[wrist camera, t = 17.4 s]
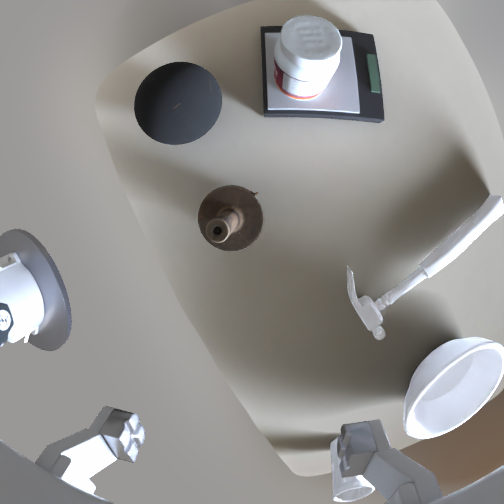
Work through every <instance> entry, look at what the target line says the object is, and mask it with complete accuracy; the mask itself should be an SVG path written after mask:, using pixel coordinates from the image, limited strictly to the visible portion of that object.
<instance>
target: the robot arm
mask: <svg viewBox="0 0 504 504" xmlns="http://www.w3.org/2000/svg"><path fill="white" fill-rule="evenodd" d="M43 319H44V303H43V299H42V295H41V292H40V290H39V287H38V285H37V283H36V281H35V279H34V277H33V276H32V274H31V273H30V272H29V270H28V269H27V268H26V267H25V266H24V265H23V264H22V262H21V260H20V259H19V257H18V255H17V253H16V252H15V251H13V252H11V253H9V254H6V255H4V256H2V257H0V347H1V346H2V345H3V344H4V343H5V342H7V341H9V342H11V343H14V342H16V341H17V340H19V339H20V338H22V337H24V336H25V335H26V338H25V341H24V342H27V340H28V337H29V334H30V333H31V334H33V335H36V334H37V333H38V330H39V325H40V324H41V323H42V321H43ZM139 420H140V418H139V416H138V415H137V414H135V413H131V412H127V411H123V410H119V409H116V408H112V407H109V406H105V407H103V408H102V410H101V411H100V413H99V414H98V416H97V417H96V419H95V420H94V422H93V423H92V425H91V426H90V428H89V429H84V430H82V431H80V432H77V433H75V434H73V435H71V436H68V437H66V438H64V439H62V440H59V441H57V442H55V443H52V444H50V445H48V446H47V447H46V448H45V450H44V451H43V452H42V454H41V455H40V456H39V458H38V459H37V461H36V462H35V463H34V462H32V461H30V460H29V459H27V458H26V457H24V456H23V455H21V454H20V453H19V452H17V451H16V450H14V449H13V448H11V447H10V446H9V445H7V444H6V443H5V442H4V441H2V440H1V439H0V504H116V503H113V502H111V501H108V500H106V499H103V498H101V497H98V496H96V495H94V494H93V492H94V490H95V486H94V484H93V483H92V482H91V481H90V480H89V479H88V478H89V477H91V476H93V475H94V474H96V473H97V472H99V471H100V470H102V469H103V468H104V467H106V466H108V465H109V464H111V463H112V462H114V461H115V460H116V458H118V459H121V460H124V461H128V462H132V463H134V461H135V459H136V457H137V455H138V453H139V451H138V449H137V448H138V447H139V446H141V445H142V444H143V441H144V438H145V431H144V427H143V426H142V425H141V424H140V423H139ZM337 454H338V457H339V458H340V459H341V462H340V465H339V466H340V472H341V478H344V477H352V476H359V475H362V476H363V477H364V478H365V479H366V480H367V481H368V482H369V483H370V484H371V485H372V486H373V487H374V488H375V489H376V490H377V491H379V493H380V494H381V495H382V496H384V497H385V498H386V499H387V501H386V503H385V504H504V465H503V466H502V467H500V468H498V469H497V470H495V471H493V472H492V473H490V474H488V475H487V476H485V477H483V478H481V479H479V480H478V481H476V482H474V483H472V484H470V485H468V486H466V487H464V488H462V489H460V490H458V491H456V492H453V493H451V494H449V495H447V496H445V497H443V496H442V493H441V490H440V488H439V485H438V483H437V480H436V478H435V475H434V473H432V472H431V471H429V470H427V469H426V468H424V467H423V466H421V465H420V464H418V463H416V462H415V461H413V460H412V459H410V458H409V457H407V456H406V455H404V454H403V453H401V452H400V451H398V450H397V449H395V448H392V449H391V446H390V444H389V441H388V438H387V435H386V432H385V430H384V427H383V424H382V422H381V420H380V419H377V420H372V421H364V422H357V423H350V424H343V425H342V427H341V435H340V436H339V437H338V440H337Z"/></svg>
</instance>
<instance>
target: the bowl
mask: <svg viewBox="0 0 504 504" xmlns="http://www.w3.org/2000/svg"><path fill="white" fill-rule="evenodd" d="M503 372H504V348H503V347H502V345H501V344H499V343H497V342H495V341H491V340H488V339H484V338H481V337H469V338H465V339H454V340H451V341H448V342H446V343H444V344H442V345H441V346H439V347H438V348H436V349H435V350H433V351H432V352H431V353H430V354H429V355H428V356H427V357H426V358H425V359H424V360H423V361H422V362H421V363H420V365H419V366H418V367H417V369H416V371H415V372H414V374H413V376H412V378H411V381H410V386H409V389H408V391H407V393H406V396H405V400H404V418H403V424H404V430H405V432H406V433H407V434H408V435H409V436H411V437H414V438H417V439H426V438H432V437H436V436H439V435H441V434H444V433H446V432H449V431H451V430H452V429H454V428H456V427H458V426H459V425H461V424H462V423H464V422H465V421H466V420H468V419H469V418H470V417H471V416H472V415H474V414H475V413H476V412H477V411H478V410H479V409H480V408H481V407H482V406H483V405H484V404H485V402H486V401H487V400H488V399H489V398H490V396H491V395H492V393H493V392H494V390H495V389H496V387H497V385H498V384H499V382H500V380H501V377H502V375H503Z"/></svg>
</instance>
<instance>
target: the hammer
mask: <svg viewBox="0 0 504 504" xmlns="http://www.w3.org/2000/svg"><path fill="white" fill-rule="evenodd" d="M503 213H504V204H503V201H502V198H501V196H499V195H493V194H491V195H490V196H489V197H488V198H487V200H486V201H485V202H484V204H483V205H482V206H481V207H480V208H479V209H478V211H477V212H476V213H475V214H474V215H473V216H472V217H471V218H470V219H469V220H468V221H467V222H466V223H465V224H463V225H462V226H461V227H460V228H459V229H458V230H457V231H455V232H454V233H453V234H452V235H451V236H450V237H448V238H447V239H446V240H445V241H444V242H443V243H442V244H441V245H440V246H439V247H438V248H437V249H436V250H435V251H433V252H432V253H431V254H430V255H429V256H428V257H427V258H426V259H425V260H424V261H423V262H422V263H421V264H419V266H420V267H419V268H418V269H417V270H416V271H415V272H414V273H412V274H411V275H410V276H409V277H408V278H406V279H405V280H404V281H402V282H401V283H400V284H399V285H397V286H396V287H394V288H393V289H392V290H390V291H389V292H387V293H385V295H382V296H381V298H378V299H377V301H375V302H373V301H372V299H371V298H370V297H369V296H362V297H361V298H359V299H358V298H357V296H356V292H355V286H354V279H353V272H352V271H350V270H349V267H348V266H347V290H348V295H349V298H350V301H351V303H352V304H353V306H354V308H355V310H356V312H357V313H358V315H359V316H360V318H361V319H362V321H363V322H364V324H365V325H366V327H367V329H368V330H369V331H373V335H374V337H375V338H376V339H377V340H381V339H383V338H384V337H385V335H386V334H385V331H384V330H383V328H382V327H381V326H380V325H381V324H382V321H383V318H382V315H381V314H380V311H381V310H383V309H385V307H387V306H389V305H390V304H392V303H393V302H394V301H395V300H397V299H398V298H399V297H400V296H402V295H403V294H404V293H406V292H407V291H408V290H410V289H411V288H412V287H414V286H415V285H416V284H418V283H419V282H420V281H422V280H423V279H425V278H426V277H427V278H430V277H431V276H432V275H434V274H435V273H436V272H438V271H439V270H440V269H442V268H443V267H444V266H446V265H447V264H448V263H450V262H451V261H452V260H453V259H455V258H456V257H457V256H458V255H459V254H460V253H461V252H462V251H464V250H465V249H466V248H467V247H468V246H469V245H470V244H471V243H472V242H473V240H475V239H476V238H477V237H478V236H479V235H480V234H481V233H482V232H483V231H484V230H485V229H486V228H487V227H488V226H489V225H490V224H491V223H492V222H494V221H495V220H496V219H497V218H498V217H500V216H501V215H502V214H503Z"/></svg>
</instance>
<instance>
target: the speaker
mask: <svg viewBox="0 0 504 504" xmlns="http://www.w3.org/2000/svg"><path fill="white" fill-rule="evenodd" d="M221 105H222V96H221V90H220V87H219V85H218V83H217V81H216V79H215V78H214V77H213V75H212V74H211V73H210V72H208V71H207V70H206V69H204V68H203V67H201V66H199V65H196V64H193V63H189V62H174V63H169V64H166V65H163V66H161V67H159V68H157V69H155V70H154V71H153V72H151V73H150V74H149V75H148V76H147V77H146V78H145V79H144V80H143V82H142V83H141V85H140V86H139V88H138V90H137V93H136V96H135V102H134V111H135V116H136V119H137V122H138V124H139V126H140V127H141V129H142V130H143V131H144V132H145V133H146V134H147V135H148V136H149V137H151V138H152V139H154V140H156V141H158V142H161V143H164V144H170V145H179V144H185V143H189V142H192V141H194V140H196V139H198V138H200V137H201V136H203V135H204V134H206V133H207V132H208V131H209V130H210V129H211V128H212V126H213V125H214V124H215V122H216V120H217V118H218V116H219V114H220V110H221Z"/></svg>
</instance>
